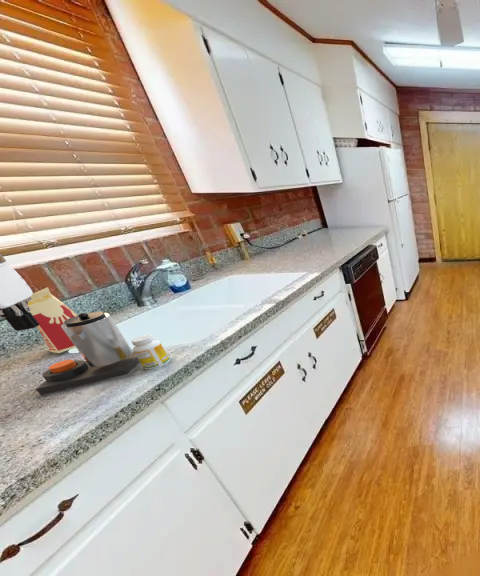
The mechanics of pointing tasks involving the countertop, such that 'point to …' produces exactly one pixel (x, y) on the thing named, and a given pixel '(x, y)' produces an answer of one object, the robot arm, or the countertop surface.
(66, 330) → the kettle
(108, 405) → the countertop surface
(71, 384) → the push button panel
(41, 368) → the countertop surface
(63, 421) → the countertop surface
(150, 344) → the supplement bottle
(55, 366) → the power button
